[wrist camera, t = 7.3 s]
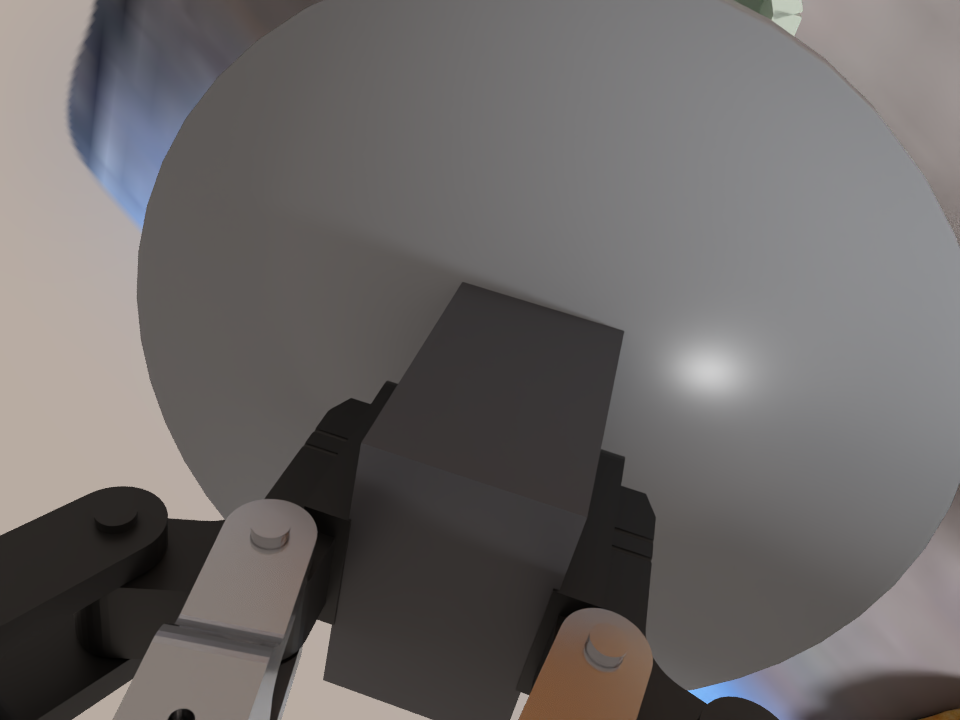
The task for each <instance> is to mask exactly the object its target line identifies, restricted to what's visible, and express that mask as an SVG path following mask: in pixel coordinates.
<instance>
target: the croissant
mask: <svg viewBox="0 0 960 720" xmlns="http://www.w3.org/2000/svg"><path fill="white" fill-rule="evenodd" d="M919 720H960V708H959V709H954V710H949V711H945V712H942V713H940V714H937V715H934V716H931V717H928V718H923V719H919Z"/></svg>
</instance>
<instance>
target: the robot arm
mask: <svg viewBox="0 0 960 720" xmlns="http://www.w3.org/2000/svg"><path fill="white" fill-rule="evenodd" d="M397 385H398V384H397V383H394V382H391V381H386V382H385V383H384V385H383V386H382V388H381V389H380V391H379V392H378V394H377V395H376V397H375V399H374V400H373V402H372V403H371V404H369V403H366V402H362V401H359V400H356V399H353V398H350V399H348V400H346V401H344V402H343V403H341V404H339V405H337V406H335V407H333V408H332V409H330V410H328V412H327V413H326V415H325V416H324V417H323V419H322V420H321V421H320V423H319V424H318V426H317V427H316V429H315V432H312V434H311V435H310V437H309V438H308V439H307V441H306V442H305V445H304V446H302V448H301V449H300V450H299V452H298V453H297V454H296V456H295V457H294V459H293V460H292V461H291V463H290V464H289V465H288V467H287V468H286V470H285V471H284V472H283V474H282V475H281V476H280V478H279V479H278V481H277V482H276V483H275V485H274V486H273V487H272V489H271V490H270V492H269V493H268V494H267V496H266V497H265V498H264V499H262V500H256V501H252V502H249V503H246V504H244V505H242V506H240V507H238V508H237V509H236V510H234V511H233V512H232V513H231V514H230V515H229V516H228V517H227V519H226V520H220V521H197V520H182V519H168V513H167V509H166V507H165V505H164V503H163V502H162V501H161V500H160V498H158V497H157V496H156V495H154V494H153V493H151V492H149V491H146V490H143V489H140V488H135V487H111V488H105V489H101V490H98V491H95V492H93V493H90V494H88V495H86V496H84V497H81V498H79V499H77V500H75V501H73V502H71V503H69V504H67V505H65V506H62V507H60V508H58V509H56V510H54V511H52V512H50V513H47V514H45V515H43V516H41V517H39V518H37V519H35V520H33V521H31V522H28V523H26V524H24V525H22V526H20V527H18V528H16V529H13V530H11V531H9V532H7V533H5V534H3V535H1V536H0V720H72V719H73V718H75V717H76V716H78V715H79V714H81V713H82V712H84V711H85V710H87V709H88V708H90V707H91V706H93V705H94V704H96V703H97V702H99V701H100V700H102V699H103V698H105V697H106V696H108V695H109V694H111V693H112V692H113V691H115V690H117V689H118V688H120V687H121V686H122V685H124V684H126V683H127V682H129V681H130V680H131V679H133V680H132V682H131V684H130V686H129V688H128V690H127V692H126V694H125V696H124V698H123V700H122V702H121V704H120V706H119V708H118V710H117V712H116V714H115V716H114V718H113V720H281V718H282V715H283V712H284V709H285V706H286V702H287V699H288V696H289V693H290V690H291V686H292V683H293V680H294V677H295V673H296V670H297V667H298V663H299V660H300V657H301V653H302V647H303V643H304V642H305V640H306V639H307V637H308V635H309V633H310V631H311V630H312V628H313V626H314V624H315V622H316V620H320V621H323V622H326V623H329V624H332V625H334V624H335V619H336V613H337V606H338V600H339V594H340V588H341V582H342V576H343V570H344V563H345V557H346V551H347V545H348V539H349V533H350V527H351V519H349V515H350V509H351V503H352V497H353V490H354V484H355V478H356V472H357V465H358V459H359V453H360V447H361V442H362V441H363V439H364V438H365V436H366V434H367V433H368V431H369V430H370V428H371V426H372V425H373V423H374V422H375V420H376V418H377V417H378V415H379V414H380V412H381V411H382V409H383V407H384V406H385V404H386V403H387V401H388V399H389V398H390V396H391V395H392V393H393V391H394V390H395V388H396V387H397ZM624 463H625V457H624V456H621V455H618V454H615V453H612V452H609V451H606V450H603V449H601V451H600V456H599V461H598V466H597V471H596V476H595V481H594V486H593V491H592V496H591V501H590V506H589V511H588V516H587V519H586V522H585V525H584V527H583V530H582V533H581V535H580V538H579V540H578V543H577V546H576V548H575V551H574V553H573V556H572V559H571V561H570V564H569V567H568V569H567V572H566V574H565V577H564V580H563V582H562V585H561V588H560V590H557V589H554V588H553V591H552V594H551V596H550V599H549V602H548V604H547V607H546V610H545V612H544V615H543V618H542V620H541V623H540V626H539V628H538V631H537V634H536V636H535V639H534V642H533V644H532V647H531V650H530V652H529V655H528V658H527V660H526V663H525V666H524V668H523V671H522V674H521V676H520V679H519V682H518V684H517V687H516V691H519V692H522V693H525V694H528V695H529V697H528V700H527V702H526V704H525V706H524V708H523V711H522V713H521V715H520V717H519V719H518V720H779V719H778V718H777V717H775V716H774V715H773V714H772V713H771V712H769V711H768V710H766V709H765V708H763V707H762V706H760V705H758V704H756V703H754V702H752V701H749V700H746V699H743V698H738V697H721V698H718V699H715V700H713V701H712V702H710V703H708V704H706V703H705V702H703V701H702V700H700V699H699V698H697V697H696V696H694V695H693V694H691V693H690V692H688V691H687V690H685V689H684V688H682V687H681V686H679V685H678V684H677V683H675V682H674V681H673V680H672V679H671V678H670V677H668V676H667V675H666V674H665V673H664V671H663V670H662V669H661V668H660V667H659V665H658V664H657V662H656V661H655V660H654V658H653V656H652V651H651V648H650V646H649V643H648V641H647V639H646V621H647V610H648V599H649V588H650V577H651V566H652V563H651V560H652V555H653V541H654V533H655V522H656V516H655V514H654V511H653V509H652V507H651V504H650V502H649V500H648V497H647V495H646V494H645V493H642V492H639V491H636V490H633V489H630V488H627V487H624V486H621V483H622V476H623V470H624Z"/></svg>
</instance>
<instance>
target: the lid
mask: <svg viewBox="0 0 960 720" xmlns="http://www.w3.org/2000/svg"><path fill="white" fill-rule="evenodd" d="M137 303H138V314H139V324H140V334H141V341H142V346H143V350H144V355H145V359H146V364H147V368H148V372H149V377H150V381H151V384H152V387H153V389H154V392H155V395H156V398H157V401H158V404H159V406H160V409H161V411H162V415H163V417H164V420H165V423H166V425H167V427H168V429H169V430H170V433H171V435H172V437H173V439H174V441H175V443H176V445H177V447H178V449H179V451H180V453H181V455H182V457H183V459H184V461H185V463H186V464H187V466H188V467H189V469H190V470H191V472H192V474H193V475H194V477H195V478H196V480H197V481H198V483H199V485H200V486H201V488H202V489H203V491H204V493H205V494H206V496H207V497H208V498H209V500H210V501H211V502H212V503H213V505H214V506H215V507H216V509H217V510H218V511H219V512H220V514H221V515H222V516H223V518H224V519H225V520H226V519H227V517H228V516H229V515H230V514H231V513H232V512H233V511H234V510H236V509H237V508H238V507H240V506H242V505H244V504H246V503H249V502H252V501H256V500H262V499H264V498H265V497H266V496H267V494H268V493H269V492H270V490H271V489H272V487H273V486H274V485H275V483H276V482H277V481H278V479H279V478H280V476H281V475H282V474H283V472H284V471H285V470H286V468H287V467H288V465H289V464H290V463H291V461H292V460H293V459H294V457H295V456H296V454H297V453H298V452H299V450H300V449H301V448H302V446H304V445H305V442H306V441H307V439H308V438H309V437H310V435H311V434H312V432H315V429H316V427H317V426H318V424H319V423H320V421H321V420H322V419H323V417H324V416H325V415H326V413H327V412H328V410H330V409H332V408H333V407H335V406H337V405H339V404H341V403H343V402H344V401H346V400H348V399H350V398H353V399H356V400H359V401H362V402H366V403H369V404H371V403H372V402H373V400H374V399H375V397H376V395H377V394H378V392H379V391H380V389H381V388H382V386H383V385H384V383H385V382H386V381H391V382H394V383H397V384H398V385H397V387H396V388H395V390H394V391H393V393H392V395H391V396H390V398H389V399H388V401H387V403H386V404H385V406H384V407H383V409H382V411H381V412H380V414H379V415H378V417H377V418H376V420H375V422H374V423H373V425H372V426H371V428H370V430H369V431H368V433H367V434H366V436H365V438H364V439H363V441H362V442H361V447H360V453H359V459H358V465H357V472H356V478H355V484H354V490H353V497H352V503H351V509H350V515H349V519H351V527H350V533H349V539H348V545H347V551H346V557H345V563H344V570H343V576H342V582H341V588H340V594H339V600H338V606H337V613H336V619H335V624H334V625H332V628H331V634H330V641H329V647H328V653H327V659H326V666H325V672H324V678H323V680H325V681H328V682H330V683H333V684H336V685H339V686H341V687H345V688H347V689H350V690H352V691H355V692H358V693H361V694H364V695H366V696H369V697H372V698H375V699H377V700H380V701H383V702H385V703H388V704H391V705H394V706H397V707H399V708H402V709H405V710H408V711H410V712H413V713H416V714H419V715H421V716H424V717H427V718H430V719H432V720H510V719H511V716H512V713H513V710H514V708H515V705H516V703H517V700H518V697H519V695H520V692H519V691H516V687H517V684H518V682H519V679H520V676H521V674H522V671H523V668H524V666H525V663H526V660H527V658H528V655H529V652H530V650H531V647H532V644H533V642H534V639H535V636H536V634H537V631H538V628H539V626H540V623H541V620H542V618H543V615H544V612H545V610H546V607H547V604H548V602H549V599H550V596H551V594H552V591H553V588H554V589H557V590H560V588H561V585H562V582H563V580H564V577H565V574H566V572H567V569H568V567H569V564H570V561H571V559H572V556H573V553H574V551H575V548H576V546H577V543H578V540H579V538H580V535H581V533H582V530H583V527H584V525H585V522H586V519H587V516H588V511H589V506H590V501H591V496H592V491H593V486H594V481H595V476H596V471H597V466H598V461H599V456H600V451H601V449H603V450H606V451H609V452H612V453H615V454H618V455H621V456H624V457H625V463H624V470H623V476H622V483H621V486H624V487H627V488H630V489H633V490H636V491H639V492H642V493H645V494H646V495H647V497H648V500H649V502H650V504H651V507H652V509H653V511H654V514H655V516H656V522H655V533H654V541H653V555H652V560H651V563H652V566H651V577H650V588H649V599H648V610H647V621H646V639H647V641H648V643H649V646H650V648H651V651H652V656H653V658H654V660H655V661H656V662H657V664H658V665H659V667H660V668H661V669H662V670H663V671H664V673H665V674H666V675H667V676H668V677H670V678H671V679H672V680H673V681H674V682H675V683H677V684H678V685H679V686H681V687H682V688H684V689H685V690H694V689H698V688H702V687H706V686H710V685H714V684H718V683H722V682H726V681H730V680H734V679H738V678H741V677H744V676H746V675H749V674H752V673H754V672H757V671H760V670H762V669H765V668H768V667H770V666H773V665H776V664H779V663H781V662H783V661H785V660H787V659H789V658H791V657H793V656H795V655H797V654H799V653H801V652H803V651H805V650H807V649H809V648H811V647H813V646H815V645H816V644H818V643H820V642H822V641H824V640H825V639H827V638H828V637H829V636H831V635H832V634H834V633H835V632H837V631H838V630H840V629H841V628H843V627H844V626H846V625H847V624H849V623H850V622H852V621H853V620H855V619H856V618H858V617H859V616H860V615H861V614H862V613H864V612H865V611H866V610H867V609H868V608H869V607H870V606H871V605H873V604H874V603H875V602H876V601H877V600H878V599H879V598H880V597H881V596H883V595H884V594H885V593H886V592H887V591H888V590H889V589H890V588H892V587H893V586H894V585H895V584H896V582H897V581H898V580H899V579H900V578H901V576H902V575H903V574H904V573H905V572H906V570H907V569H908V568H909V567H910V566H911V565H912V563H913V562H914V561H915V560H916V559H917V557H918V556H919V555H920V554H921V553H922V551H923V550H924V549H925V548H926V546H927V544H928V543H929V541H930V539H931V538H932V536H933V534H934V533H935V531H936V529H937V528H938V526H939V524H940V523H941V521H942V519H943V518H944V516H945V514H946V513H947V511H948V509H949V508H950V506H951V504H952V501H953V499H954V496H955V494H956V491H957V489H958V486H959V484H960V248H959V245H958V242H957V239H956V236H955V234H954V232H953V230H952V228H951V226H950V224H949V222H948V220H947V218H946V216H945V214H944V212H943V211H942V209H941V207H940V205H939V203H938V201H937V199H936V197H935V195H934V193H933V191H932V189H931V187H930V185H929V183H928V181H927V180H926V178H925V176H924V175H923V174H922V172H921V171H920V169H919V168H918V167H917V165H916V164H915V162H914V161H913V160H912V158H911V157H910V155H909V154H908V153H907V151H906V150H905V149H904V147H903V146H902V145H901V143H900V142H899V141H898V139H897V138H896V137H895V135H894V134H893V133H892V131H891V130H890V129H889V127H888V126H887V125H886V123H885V122H884V120H883V119H882V118H881V116H880V115H879V114H878V112H877V111H876V110H875V108H874V107H873V106H872V104H871V103H870V102H869V101H868V100H867V99H866V98H865V97H864V96H863V95H862V94H860V93H859V92H858V91H857V90H856V89H855V88H854V87H853V86H852V85H851V84H850V83H849V82H848V81H847V80H846V79H845V78H844V77H843V76H842V75H841V74H840V73H839V72H838V71H837V70H836V69H835V68H834V67H833V66H832V65H831V64H830V63H829V62H828V61H827V60H826V59H825V58H824V57H822V56H821V55H819V54H818V53H817V52H815V51H814V50H812V49H811V48H810V47H808V46H807V45H805V44H804V43H803V42H801V41H800V40H798V39H797V38H796V37H794V36H793V35H791V34H790V33H789V32H787V31H786V30H785V29H783V28H782V27H780V26H779V25H778V24H776V23H775V22H773V21H772V20H771V19H769V18H767V17H765V16H763V15H761V14H759V13H757V12H755V11H753V10H752V9H750V8H748V7H746V6H744V5H742V4H740V3H738V2H736V1H734V0H322V1H320V2H318V3H316V4H314V5H311V6H309V7H307V8H305V9H304V10H302V11H301V12H299V13H298V14H296V15H295V16H293V17H292V18H290V19H289V20H287V21H286V22H284V23H283V24H281V25H280V26H278V27H277V28H275V29H274V30H272V31H271V32H269V33H268V34H266V35H265V36H263V37H262V38H260V39H259V40H257V41H256V42H255V43H254V44H253V45H252V46H251V47H250V48H249V49H248V50H246V51H245V52H244V53H243V54H242V55H241V56H240V57H239V58H238V59H237V60H236V61H235V62H234V63H233V64H231V65H230V66H229V67H228V68H227V69H226V70H225V71H224V72H223V73H222V74H221V75H220V76H219V77H218V78H217V79H216V80H215V81H214V83H213V84H212V85H211V87H210V88H209V89H208V91H207V92H206V93H205V94H204V96H203V97H202V98H201V100H200V101H199V102H198V103H197V105H196V106H195V107H194V109H193V110H192V111H191V113H190V114H189V115H188V116H187V118H186V119H185V121H184V123H183V125H182V127H181V129H180V130H179V132H178V134H177V136H176V138H175V140H174V142H173V143H172V145H171V147H170V149H169V151H168V153H167V155H166V156H165V158H164V160H163V162H162V165H161V168H160V171H159V173H158V176H157V179H156V182H155V185H154V188H153V191H152V193H151V196H150V199H149V202H148V205H147V209H146V214H145V219H144V225H143V230H142V236H141V241H140V246H139V254H138V278H137Z"/></svg>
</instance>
